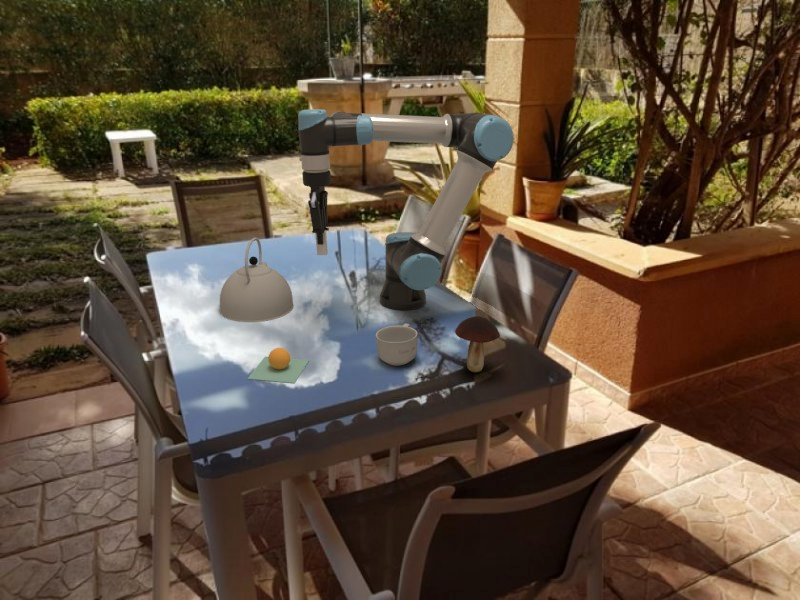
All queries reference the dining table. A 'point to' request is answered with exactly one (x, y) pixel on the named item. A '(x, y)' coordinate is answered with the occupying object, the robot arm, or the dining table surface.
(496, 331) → the decorative mushroom
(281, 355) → the ball
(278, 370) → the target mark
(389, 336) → the teacup
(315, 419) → the dining table surface
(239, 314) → the kettle
